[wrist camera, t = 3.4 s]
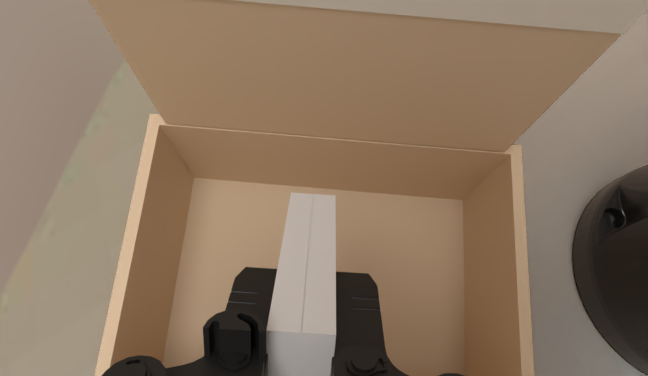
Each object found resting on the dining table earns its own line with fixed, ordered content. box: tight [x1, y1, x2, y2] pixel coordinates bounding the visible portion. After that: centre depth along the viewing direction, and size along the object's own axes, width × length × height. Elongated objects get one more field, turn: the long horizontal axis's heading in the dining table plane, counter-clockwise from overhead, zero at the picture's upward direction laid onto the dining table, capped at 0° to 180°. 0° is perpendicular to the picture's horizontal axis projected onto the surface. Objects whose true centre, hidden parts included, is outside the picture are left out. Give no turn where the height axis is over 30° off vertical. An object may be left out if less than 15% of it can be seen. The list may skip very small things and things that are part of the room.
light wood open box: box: [94, 114, 535, 376], centre depth 28 cm, size 20×14×9 cm
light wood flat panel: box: [89, 0, 648, 152], centre depth 20 cm, size 18×1×12 cm, turn 86°
